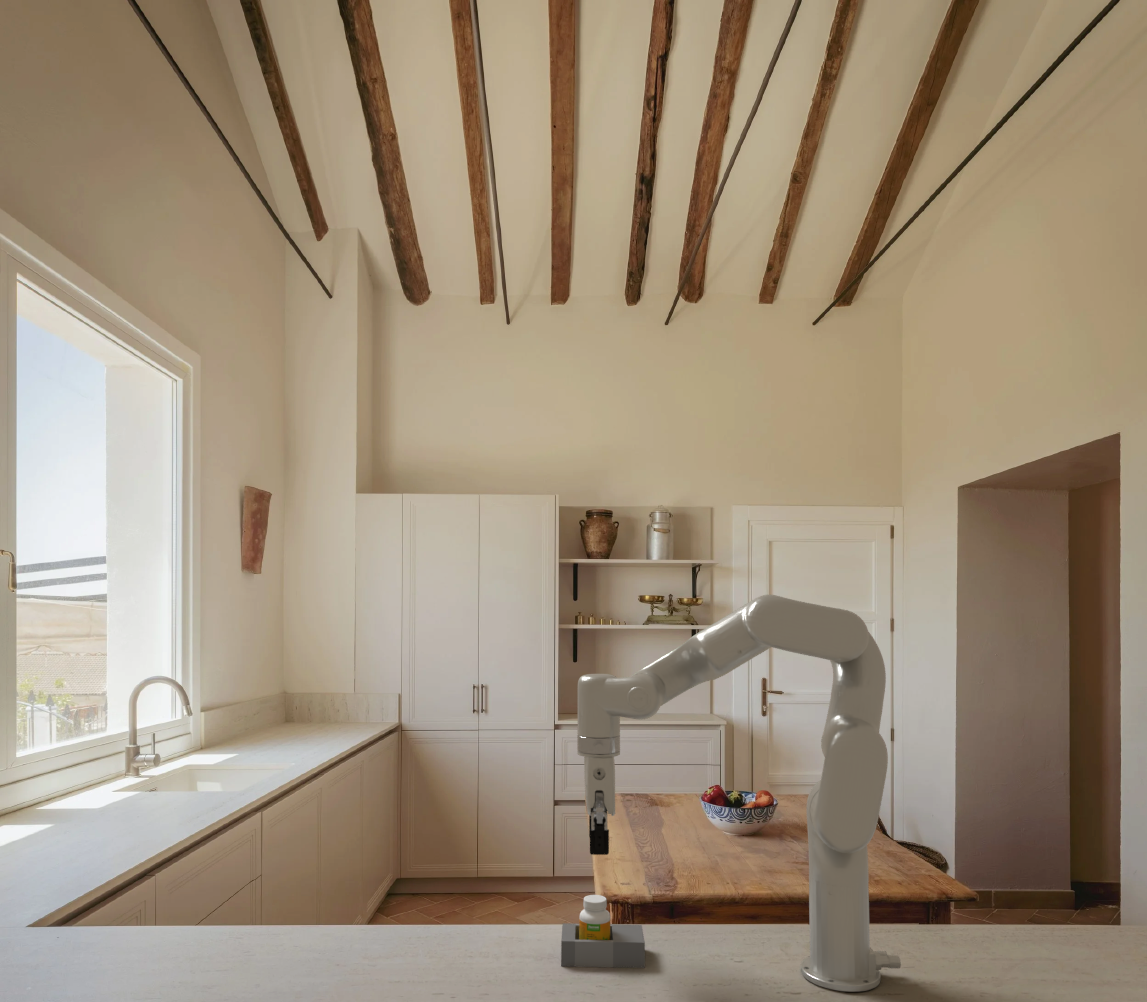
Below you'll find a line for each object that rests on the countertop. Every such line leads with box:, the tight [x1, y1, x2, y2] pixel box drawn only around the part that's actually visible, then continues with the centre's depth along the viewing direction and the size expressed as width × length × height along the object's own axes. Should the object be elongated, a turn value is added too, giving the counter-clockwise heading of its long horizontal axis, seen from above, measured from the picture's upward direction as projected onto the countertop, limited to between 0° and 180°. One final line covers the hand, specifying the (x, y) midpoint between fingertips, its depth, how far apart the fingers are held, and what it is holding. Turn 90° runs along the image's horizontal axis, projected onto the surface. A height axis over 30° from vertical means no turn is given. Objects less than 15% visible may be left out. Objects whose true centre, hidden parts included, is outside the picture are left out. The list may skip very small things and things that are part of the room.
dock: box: [560, 923, 646, 969], centre depth 153 cm, size 14×8×4 cm, turn 89°
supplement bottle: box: [578, 894, 612, 940], centre depth 153 cm, size 5×5×10 cm
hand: (598, 845), depth 155 cm, fingers open, 9 cm apart
